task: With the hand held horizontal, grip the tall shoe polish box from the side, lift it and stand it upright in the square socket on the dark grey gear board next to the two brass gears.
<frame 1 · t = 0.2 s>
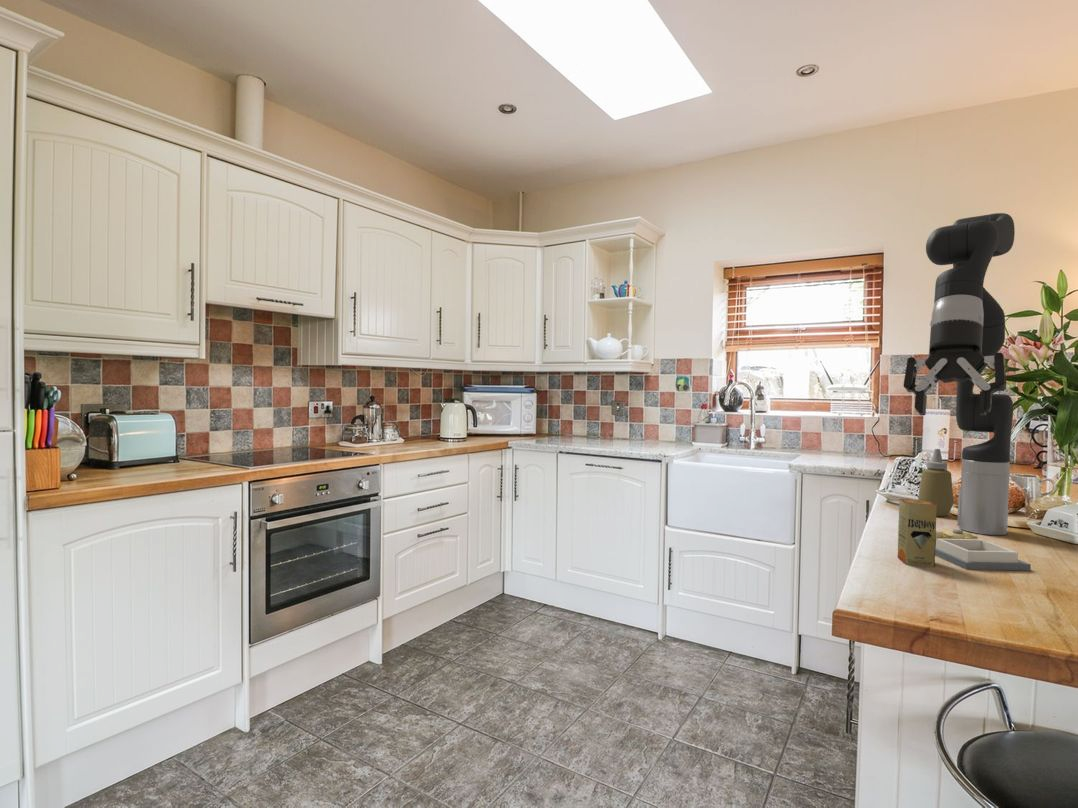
hand: (951, 414, 99), 30 cm above the countertop, tool tilted 20°, fingers open, 8 cm apart
square socket: (974, 561, 116), resting on gear board
gear board: (962, 554, 121), on the countertop
squeeze bottle: (935, 515, 159), on the countertop
shoe polish box: (915, 563, 115), on the countertop
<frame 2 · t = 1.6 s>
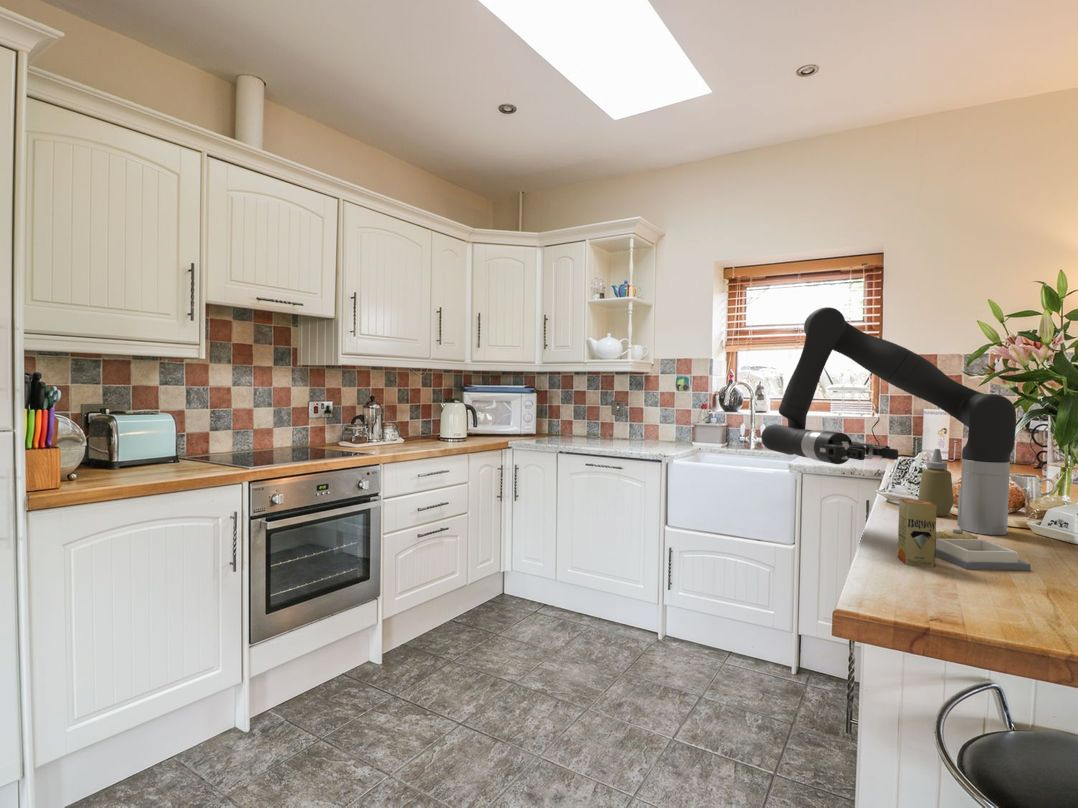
hand: (880, 455, 124), 20 cm above the countertop, tool horizontal, fingers open, 8 cm apart
nothing on the countertop moved.
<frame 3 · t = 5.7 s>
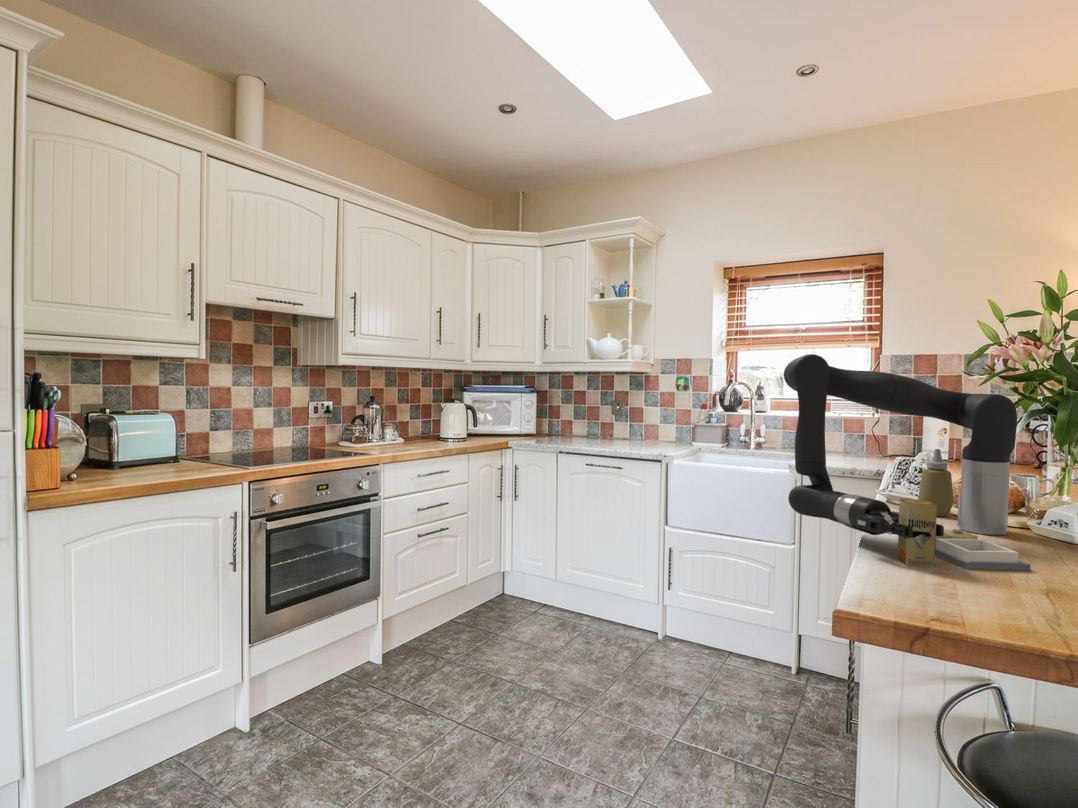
hand: (926, 532, 113), 7 cm above the countertop, tool horizontal, fingers closed on shoe polish box, 6 cm apart
shoe polish box: (915, 563, 115), on the countertop, touching gripper
everything else where it was.
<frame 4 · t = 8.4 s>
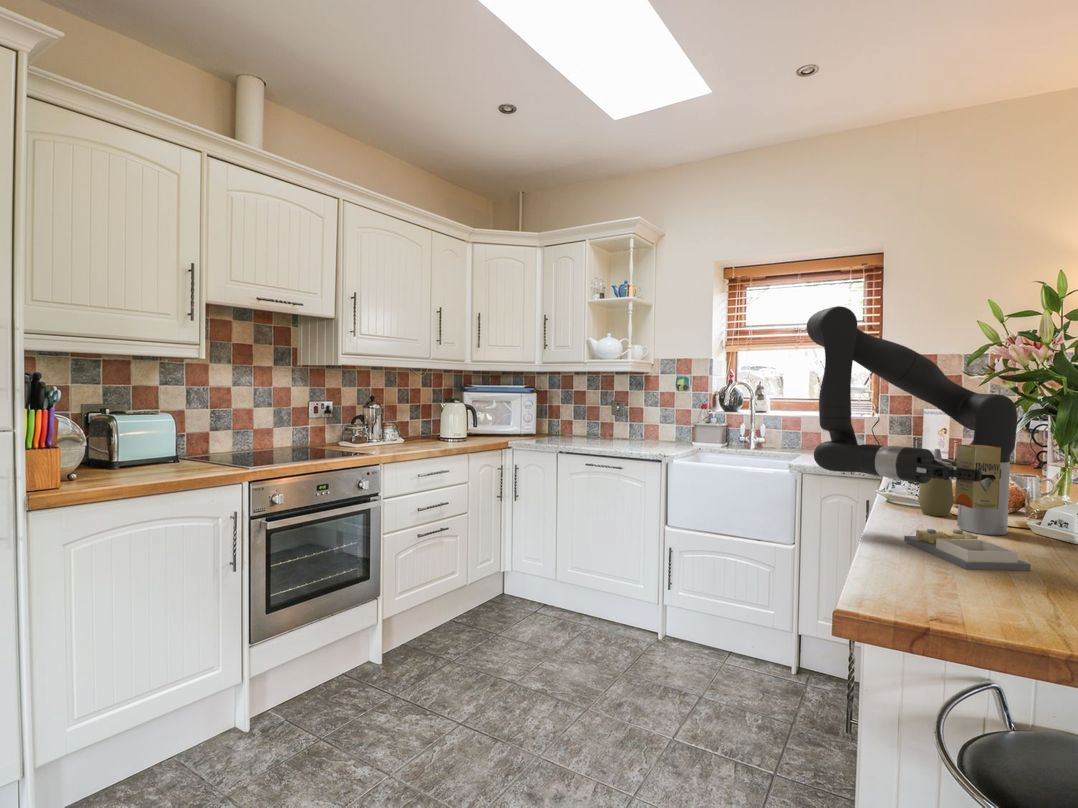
hand: (990, 475, 114), 18 cm above the countertop, tool horizontal, fingers closed on shoe polish box, 6 cm apart
shoe polish box: (975, 506, 116), point 11 cm above the countertop, touching gripper
everything else where it was.
when the fingers open (9 cm above the countertop, at t = 10.9 s): shoe polish box drops 2 cm, resting on gear board.
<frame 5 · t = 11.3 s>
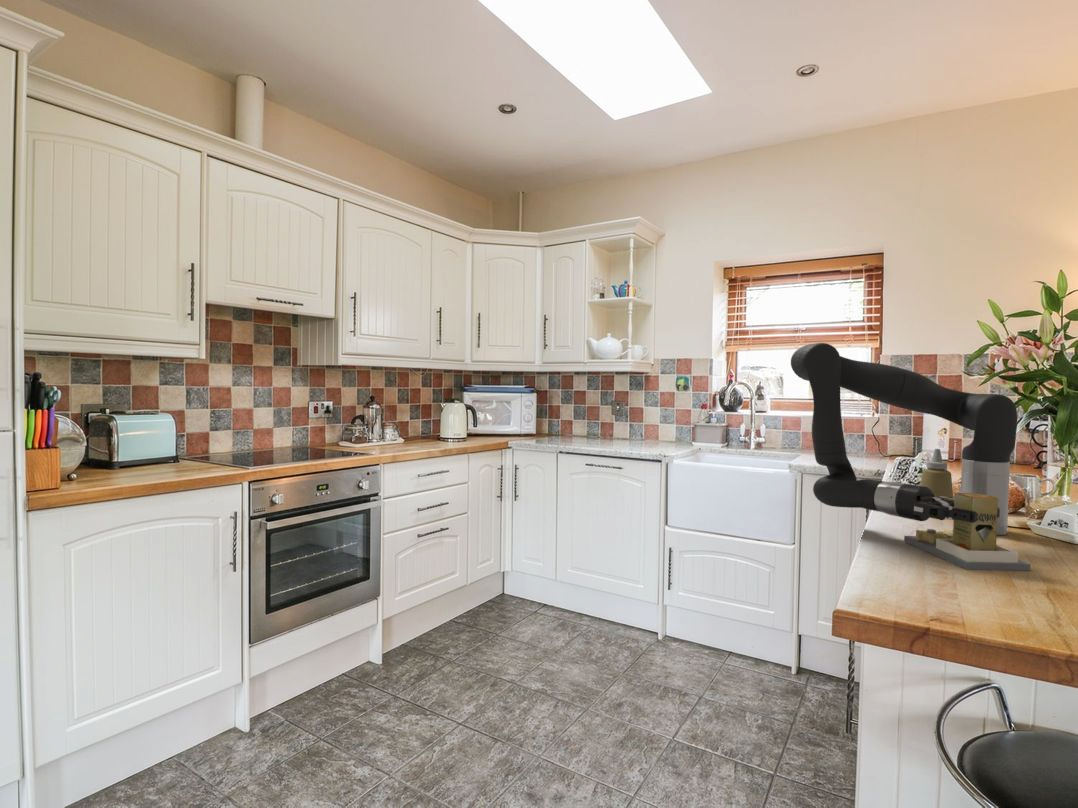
hand: (987, 515, 114), 10 cm above the countertop, tool horizontal, fingers open, 8 cm apart
shoe polish box: (973, 555, 116), point 1 cm above the countertop, touching gear board
everything else where it was.
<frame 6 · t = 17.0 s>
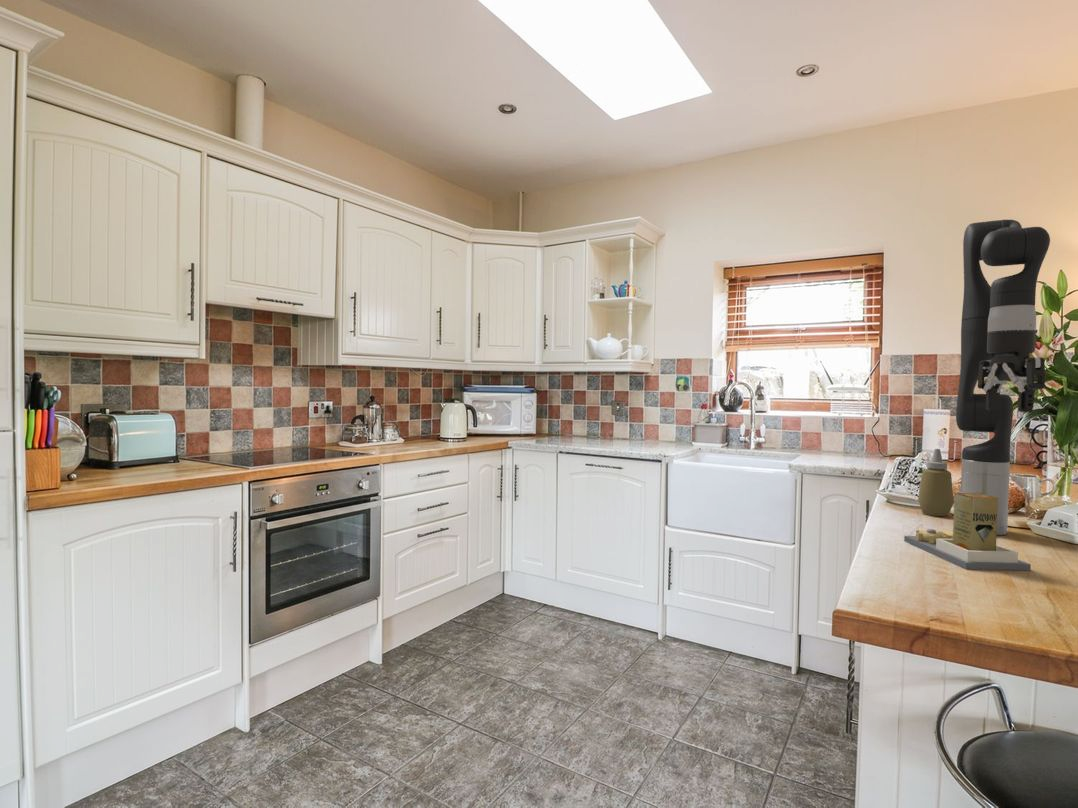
hand: (1008, 410, 117), 30 cm above the countertop, tool pointing down, fingers open, 8 cm apart
nothing on the countertop moved.
at the end: shoe polish box 0.3 cm from the square socket (horizontally); shoe polish box tilted 0°; the gripper is holding nothing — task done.
